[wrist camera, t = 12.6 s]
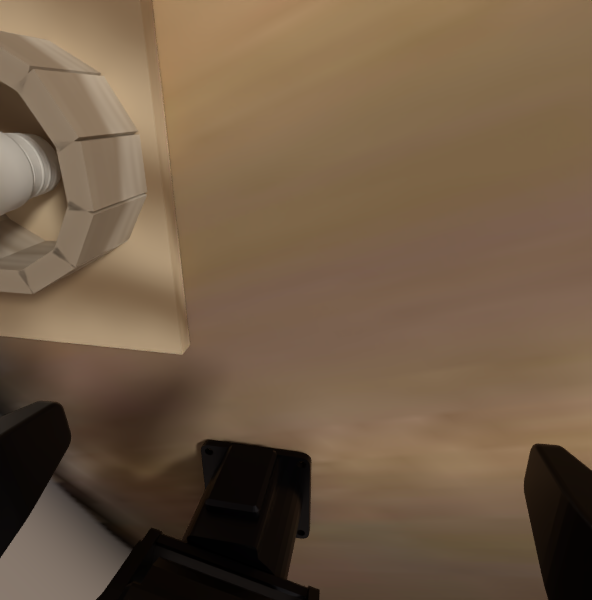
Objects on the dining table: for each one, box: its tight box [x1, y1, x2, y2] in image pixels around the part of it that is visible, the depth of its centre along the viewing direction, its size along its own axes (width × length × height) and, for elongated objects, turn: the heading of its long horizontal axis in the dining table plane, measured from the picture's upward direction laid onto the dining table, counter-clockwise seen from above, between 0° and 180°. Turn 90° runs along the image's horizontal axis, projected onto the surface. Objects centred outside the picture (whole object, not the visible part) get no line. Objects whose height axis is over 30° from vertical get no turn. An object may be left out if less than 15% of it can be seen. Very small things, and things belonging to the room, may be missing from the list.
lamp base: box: [0, 0, 190, 354], centre depth 19 cm, size 19×11×5 cm, turn 0°
